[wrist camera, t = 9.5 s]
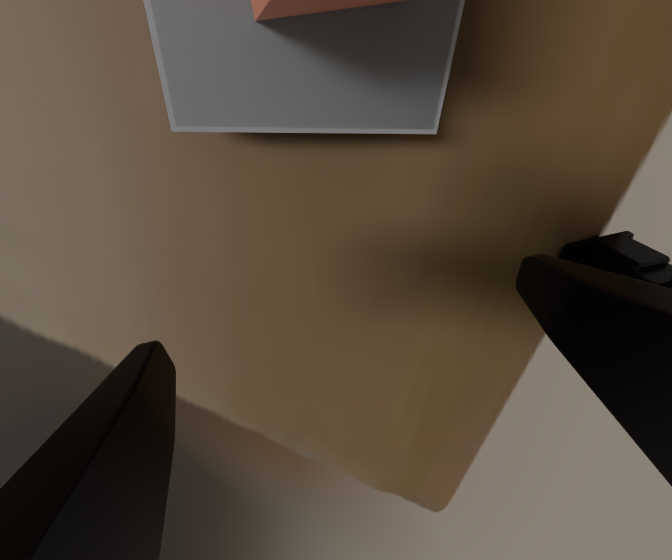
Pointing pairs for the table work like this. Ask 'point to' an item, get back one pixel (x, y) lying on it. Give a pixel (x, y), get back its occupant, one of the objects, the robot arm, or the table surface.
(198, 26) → the grey box
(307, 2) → the red cube
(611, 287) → the robot arm
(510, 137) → the table surface
